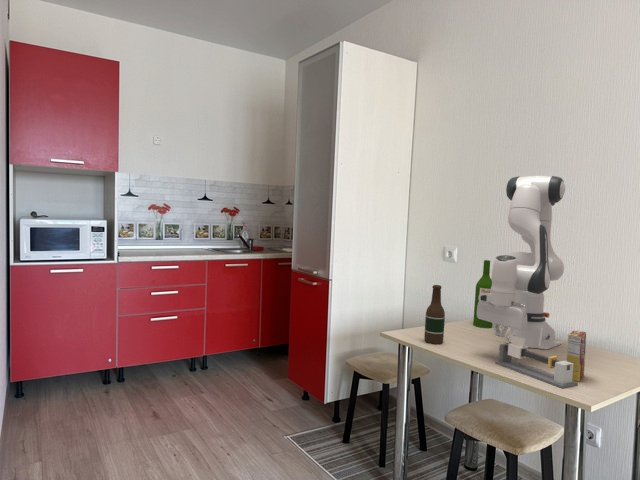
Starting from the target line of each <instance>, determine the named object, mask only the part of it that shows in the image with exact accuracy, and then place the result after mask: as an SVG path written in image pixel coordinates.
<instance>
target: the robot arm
mask: <svg viewBox="0 0 640 480" xmlns="http://www.w3.org/2000/svg"><path fill="white" fill-rule="evenodd" d="M505 192H506V197H507V198H508V199H509V201H511V202H510V205H509V209H508V210H509V211H508V216H507V218H508V219H507V223H508V226H509V228H511V230H513V231H514V232H515V233H517V234H519V235H520V236H521V239H522V240H523V242H525V243H526V244H527V245H528V246H529V248H530V252H524V251H513V252H509V253H507V254H505V255H498V256H495V258H494V261H493V264H492V270H491V276H490V278H491V280H492V287H491V290H490V293H488V294H483V295H479V300H480V301H479V302H478V305H477V317H478V319H481V320H485V321H488V322H492V323H493V324H492V328H493V329H494V335H495V337H496V336H497V337H500V338H505V335H506V332H507V331H508V329H509V328H510V330H509V335H507V339H508V343H511V340H512V335H515V336H519V337H522V338H525V339H526V342H525V346H528V348H531V349H534V348H535V349H540V350H549V349H551V348H555V347H558V346H560V345H561V344H562V343H561V341H559V340H556V331H555V329H554V328H553V327H552V326H551V325H549V323H548V322H547V321H546V318H547V319H549V317H550V313H549V312H544V308H545V307H544V306H545V294H544V292H545V291H547V290H549V287H550V283H551V281H552V282H553V281H554V282H555V281H558V280H559V279H561V278H562V276H563V274H564V271H565V265H564V262H563V260H562V259H561V258H560V257H559V256H558V255H557V254H556V253H555V251H554V249H553V246H552V241H551V229H552V219H553V209H552V207H553V206H555V204H556V203H557V204H558V203H559V202H560V201H561V200H562V199H563V197H564V195H565V192H566V184H565V181H564V179H563V178H562V177H560V176H555V175H552V176H549V175H528V176H514V177H511V178H510V179H509V180H508V181H507V183H506V188H505ZM499 327H500V328H501V330H500V328H499Z"/></svg>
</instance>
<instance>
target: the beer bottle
mask: <svg viewBox="0 0 640 480" xmlns="http://www.w3.org/2000/svg"><path fill="white" fill-rule="evenodd" d="M445 313H446V312H445V309H444V307H443V306H442V285H440V284H433V285H432V294H431V301H430V304H429V306H428V307H427V308H426V311H425V319H424V321H425V322H424V323H425V324H424V334H423V335H424V338H423V339H424V342H425V341H426V343H427V344H430V343H431V345H441V344H443V343H444V337H445V336H444V335H445V323H446V322H445V320H446V317H445V316H446V314H445Z"/></svg>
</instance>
